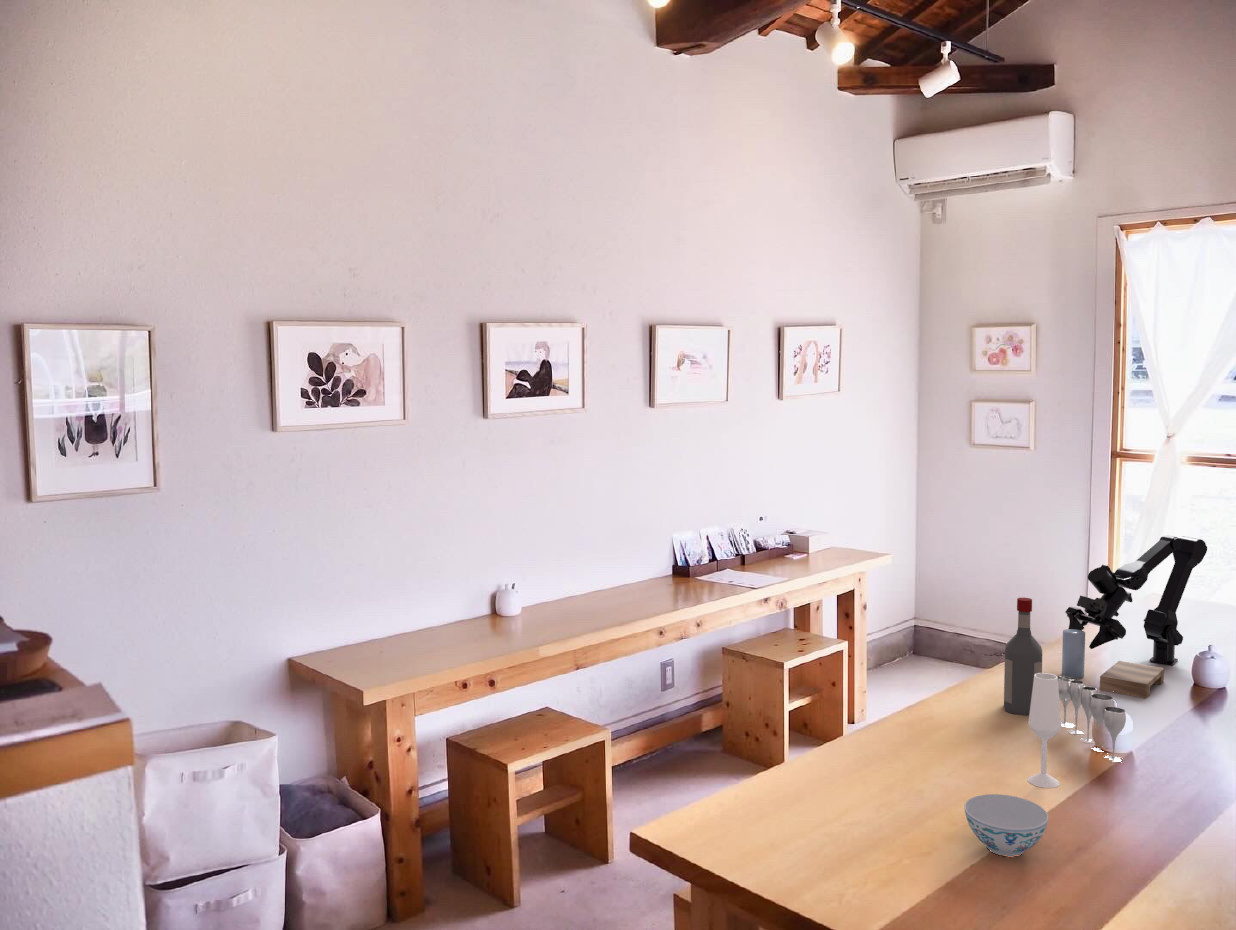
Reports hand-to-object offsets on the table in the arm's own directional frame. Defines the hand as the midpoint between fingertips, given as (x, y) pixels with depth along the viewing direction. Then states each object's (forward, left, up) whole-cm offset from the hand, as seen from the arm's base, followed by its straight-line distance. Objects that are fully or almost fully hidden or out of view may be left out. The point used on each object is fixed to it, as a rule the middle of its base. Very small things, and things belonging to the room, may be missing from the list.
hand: (1078, 644), depth 299 cm
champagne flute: (+82, +18, -9) cm, 85 cm away
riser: (+1, +15, -9) cm, 18 cm away
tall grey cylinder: (+1, -1, -9) cm, 9 cm away
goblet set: (+51, +18, -9) cm, 55 cm away
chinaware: (+118, +23, -9) cm, 121 cm away
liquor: (+39, -2, -9) cm, 41 cm away
